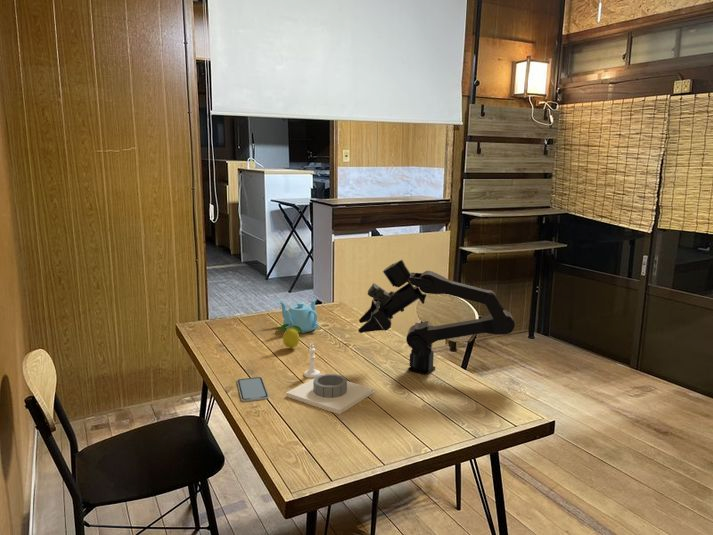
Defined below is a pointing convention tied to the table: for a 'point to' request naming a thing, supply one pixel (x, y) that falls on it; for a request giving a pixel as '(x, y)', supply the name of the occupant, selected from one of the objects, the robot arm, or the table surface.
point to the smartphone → (252, 389)
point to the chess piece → (312, 365)
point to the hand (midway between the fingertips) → (359, 326)
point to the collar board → (330, 402)
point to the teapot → (300, 316)
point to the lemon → (291, 335)
